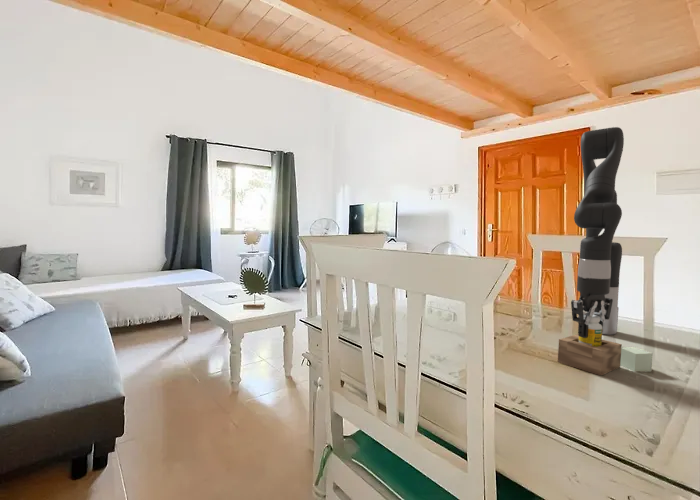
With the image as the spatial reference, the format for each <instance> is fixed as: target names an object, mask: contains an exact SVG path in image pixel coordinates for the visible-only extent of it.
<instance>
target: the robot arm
mask: <svg viewBox="0 0 700 500" xmlns="http://www.w3.org/2000/svg"><path fill="white" fill-rule="evenodd" d="M624 139H625V138H624V132H623V129H622V128H621V127H618V126H615V127H614V126H613V127H606V128H600V129H593V130H588V131H587V130H586V131H585V132H583V133H582V134H581V137H580V155H581V163H582V170H583V173H582V174H583V184H584V185H583V187H584V188H583V197H582V198H581V200H580V202H579V204H578V205H577V207H576V209H575V211H574V215H573V220H574V223H575V225H576V226H577V227H578V228H581V229H585V237H584V238H582V240H581V241H580V245H579V246H580V247H579V261H578V266H577V281H576V283H577V285H576V291H577V292H578V293H580V296H579V298H578V299H576V300H574V299H572V300H571V302H570V305H571V315H572V316H571V317H572V318H571V319H572V321H573V322H576V323H578V327H577V328H578V330H577V334H578V335H579V336H580V337H583V338H587V337H588V325H587V324H588V322H589V319H590V317H592V316H593V315H596V316H599V317H600V322H599V324H601V325H602V335H615V334H617V332H618V324H619V322H618V321H619V293H620V292H619V290H620V274H621V273H620V272H621V271H620V270H621V264H622V258H623V257H622V256H623V248H622V244H621V243H619V242H615V241H614V242H613V239H614V236H615V233H616V231H617V228H618V226H619V224H620V222H621V218H622V216H623V212H622V208H621V206H620V205H619V204H618V193H617V191H616V190H615V189H616V177H617V174H618V169H619V167H620V164H621V160H622V155H623V151H624V144H625V143H624V141H625V140H624ZM603 159H604V160H603ZM595 160H603V161H601V163H600V164H598V166H597V165H596V162H595ZM602 231H603V232H602ZM601 232H602V233H601ZM600 233H601V234H600ZM584 316H586V317H585V319H584Z"/></svg>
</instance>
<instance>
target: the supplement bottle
mask: <svg viewBox="0 0 700 500" xmlns="http://www.w3.org/2000/svg"><path fill="white" fill-rule="evenodd" d="M585 317H586V316H584V319H585ZM599 322H600V317H599V316H596V315H593V316H592V317H590V319H589V322H588V324H587V325H588V337H587V338H583V337H580V336H579V342H580V343H584V344H587V345H591V346H595V347H598V346H601V343H602V340H603V339H602V338H603V334H602V325H601V324H599Z"/></svg>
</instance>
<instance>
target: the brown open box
mask: <svg viewBox="0 0 700 500" xmlns="http://www.w3.org/2000/svg"><path fill="white" fill-rule="evenodd" d="M622 347H623V346H622V344H621V343H618V342H614V341H609V340H605V339H602V343H601V346H598V347H595V346H591V345H587V344H584V343H580V342H579V335H578V333H577V334H573V335H570V336H566V337H563V338H559V339H558V349H557V351H558V352H557V362H558V363H560V364H562V365H567V366H570V367H573V368H577V369H580V370H583V371H585V372H589V373H590V374H591V373H592V374H595V375H598V376H603V375H605V374H608V373H611V372H612V371H615V370H617V369H620V368H621V366H620V362H621V348H622Z"/></svg>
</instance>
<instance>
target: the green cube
mask: <svg viewBox="0 0 700 500" xmlns="http://www.w3.org/2000/svg"><path fill="white" fill-rule="evenodd" d="M652 366H653V352H650V351H648V350H646V349H645V350H644V349H641V348H639V347H638V346H637V347H636V346H631V347H630V346H628V347H623V346H622V347H621V362H620V367H623V368H625V369H627V370H629V369H630V370H629V371H632V372H634V371H645V372H652Z"/></svg>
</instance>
